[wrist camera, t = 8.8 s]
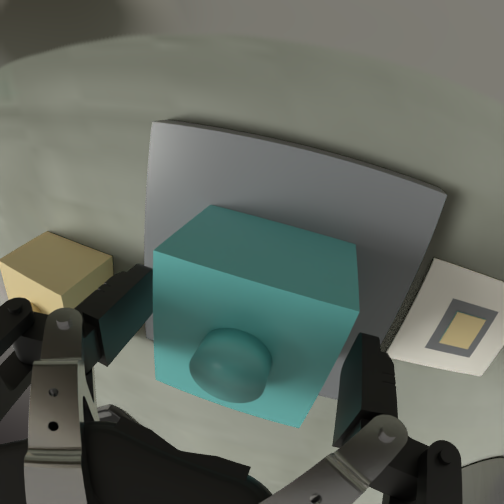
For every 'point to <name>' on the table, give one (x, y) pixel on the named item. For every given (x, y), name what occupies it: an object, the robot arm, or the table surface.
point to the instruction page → (453, 321)
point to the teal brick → (252, 312)
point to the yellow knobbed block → (54, 272)
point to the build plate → (296, 207)
